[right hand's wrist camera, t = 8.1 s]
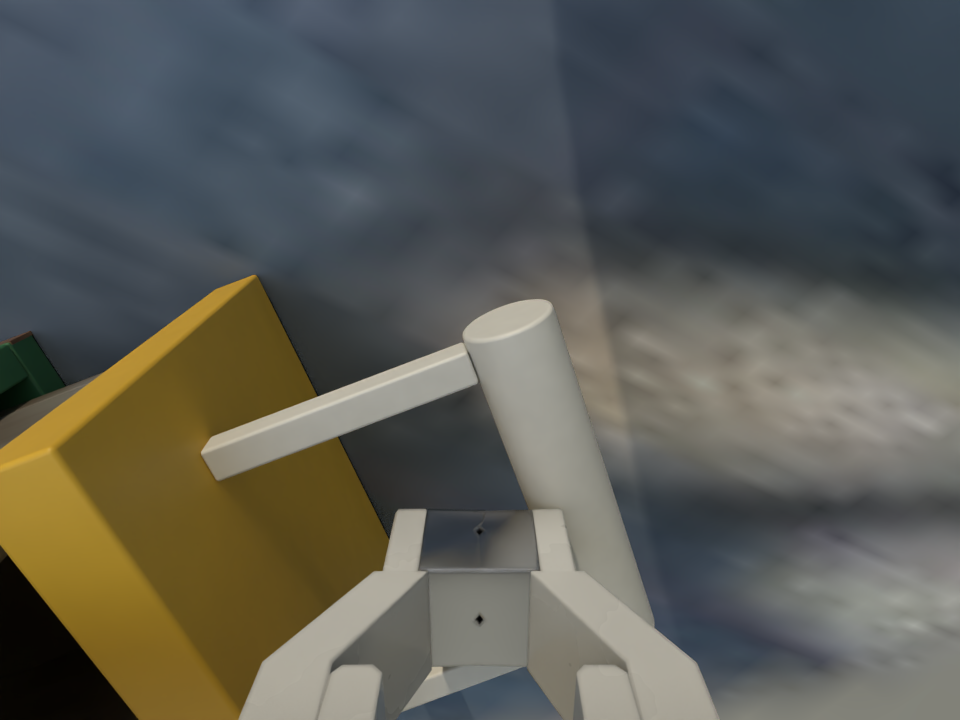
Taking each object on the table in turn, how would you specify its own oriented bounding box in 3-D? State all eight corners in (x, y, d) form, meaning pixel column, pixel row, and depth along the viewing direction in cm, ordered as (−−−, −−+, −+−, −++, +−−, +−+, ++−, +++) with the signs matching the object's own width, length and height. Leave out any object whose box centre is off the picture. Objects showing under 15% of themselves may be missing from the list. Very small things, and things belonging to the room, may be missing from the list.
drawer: (476, 189, 16) (573, 248, 7) (579, 488, 19) (738, 803, 10) (-230, 458, 16) (-1092, 879, 7) (-4, 706, 19) (-375, 1214, 10)
